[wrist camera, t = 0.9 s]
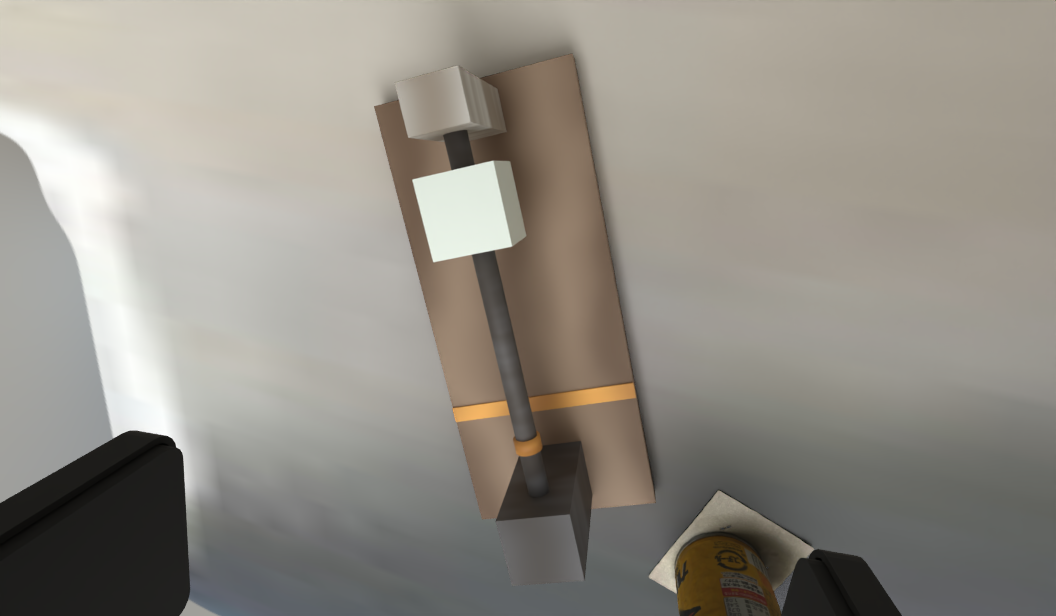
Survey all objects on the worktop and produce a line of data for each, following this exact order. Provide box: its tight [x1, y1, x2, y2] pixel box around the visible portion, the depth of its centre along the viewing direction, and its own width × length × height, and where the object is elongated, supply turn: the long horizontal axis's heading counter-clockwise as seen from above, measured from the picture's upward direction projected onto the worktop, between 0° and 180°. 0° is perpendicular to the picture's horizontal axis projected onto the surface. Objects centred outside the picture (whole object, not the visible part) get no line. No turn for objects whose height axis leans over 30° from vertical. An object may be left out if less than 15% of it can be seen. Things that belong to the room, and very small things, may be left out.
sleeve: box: [412, 161, 526, 262], centre depth 28 cm, size 4×4×4 cm
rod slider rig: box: [374, 54, 656, 586], centre depth 32 cm, size 12×28×10 cm, turn 12°
